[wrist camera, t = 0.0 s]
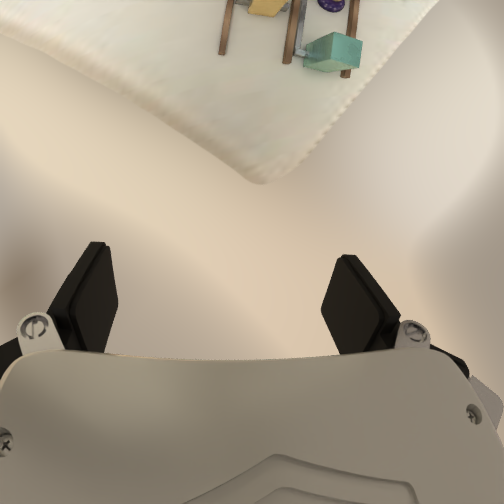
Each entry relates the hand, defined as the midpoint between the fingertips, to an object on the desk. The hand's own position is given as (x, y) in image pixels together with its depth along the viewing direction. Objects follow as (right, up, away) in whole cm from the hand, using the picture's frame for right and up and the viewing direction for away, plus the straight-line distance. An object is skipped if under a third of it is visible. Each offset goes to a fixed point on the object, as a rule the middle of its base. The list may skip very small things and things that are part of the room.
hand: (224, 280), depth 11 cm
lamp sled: (+11, +35, +18) cm, 41 cm away
